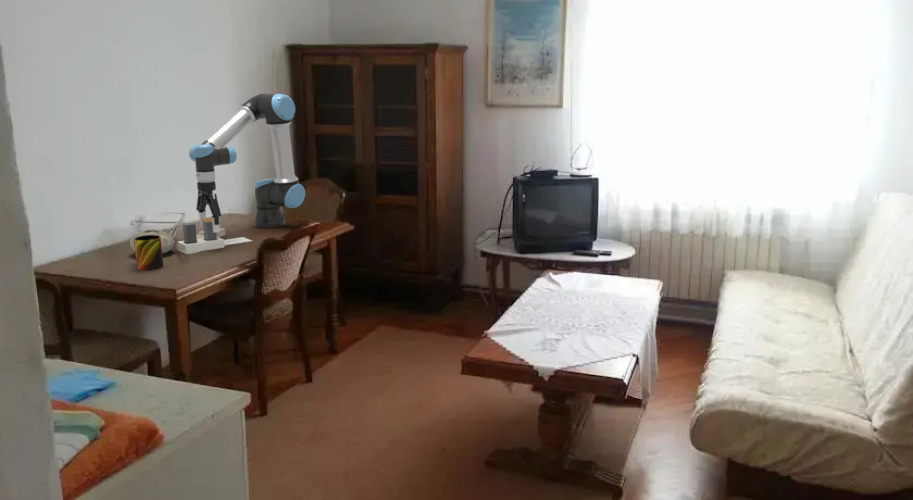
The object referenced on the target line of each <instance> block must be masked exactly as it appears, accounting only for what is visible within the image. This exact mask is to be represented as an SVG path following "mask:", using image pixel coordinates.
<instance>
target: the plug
mask: <svg viewBox="0 0 913 500" xmlns="http://www.w3.org/2000/svg"><path fill="white" fill-rule="evenodd" d="M202 229H203V230H204V240H206V241H211V240H217V234H216V232H215V233H214V232H213V223H212V217H206V218H204V219H203V227H202Z"/></svg>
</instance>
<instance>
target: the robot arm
mask: <svg viewBox="0 0 913 500" xmlns="http://www.w3.org/2000/svg"><path fill="white" fill-rule="evenodd" d="M237 108H238V109H237V112H236V113H235V114H233V115H232V116H231V117H230V118H229V119H228V120H227V121H225V122H224V123H223V124H222V125H221V126H219V128H218V129H216V130H215V132H214V131H213V133H212V134H211V135H210V136H209V137H208V138H206V139H205V140H204V141H203V142H202V143H201V144H196V145H192V146H191V147H190V149H189V151H188V155H189V158H190V160H192V161H193V162H195V164H194V165H195V171H196V172H195V173H196V174H195V177H196V181H197V183H196V187H197V200H196V201H197V202H196V209H195V210H196V211H198V216H199V217H198V219H199V227H200V228H202V229H203V219H204V218H207V214H206V213H207V210H206V208H207V205H208V207H209V210H210V213H211V218H212V223H213V232H214V233H215V232H220V228H221V227H220V217H222V212H221V209H220V205H219V202H218V196H217V193H213V192H214V191H215V190H216V189H217V185H216V181H215V180H216V172H215V167H216V166H224V165H230V164H234V163H236V161H237V156H238V155H237V151H236V150H235V148H234V147H232V146H227V145H228V144H229V143H230V142H232V140H234V139H235V137H237V136H238V135H239V134H240V133H241V132H242V131H244V129H246V128H247V127H248V126H249V125H253V124H254V123H255V122H256V121H259V120H265V124H266V125H267V126H268V127H269V129H270V137H271V143H272V149H273V150H272V151H273V158H274V167H275V176H276V177H274V178H265V179H259V180H256V181H255V182H254V196H255V197H254V198H255V207H256V210H255V215H254V218H253V226H254V228H259V229H273V228H274V229H275V228H279V227H283V226H285V225H286V221H285V220H286V219H285V217H284V215H283V214H284V213H283V212H282V209H281V207H285V208H288V209H289V208H290V209H291V208H292V209H294V208H298V207H300V206H301V205H302V204H303V202H304V200H305V198H306V190H305V187H304V186H303V185H302V184H300V181H299V178H298V177H297V176H296V174H295V168H294V160H293V159H294V158H293V149H292V142H291V141H292V140H291V135H290V125H291V124H292V119H293V118H294V117H295V113H296V105H295V103H294V101H293V99H292V98H291V97H290V96H288V95H287V94H283V93H259V94H255V95H254V96H252V97H251V98H249V99H247V100H246V101H244V102H243V103H242V104H241V105H240V106H239V107H237Z"/></svg>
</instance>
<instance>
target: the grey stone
mask: <svg viewBox="0 0 913 500" xmlns="http://www.w3.org/2000/svg"><path fill="white" fill-rule="evenodd" d="M146 235H158V236H160V237H161V246H162V255H164V254H167V252H169V251H171V250H172V249H173V248H174V246H175V244H176V241H175V238H174V237H173V236H172V235H171V234H170V233H169V232H165V230H161V229H158V228H157V229H143V230H141V231H139V232H137V233H136V234H134V235H132V237H131V238H130V240H129V245H130V248H131V250H132V251H134V252H135V246H134V240H135V238H136V237H139V236H146Z"/></svg>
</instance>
